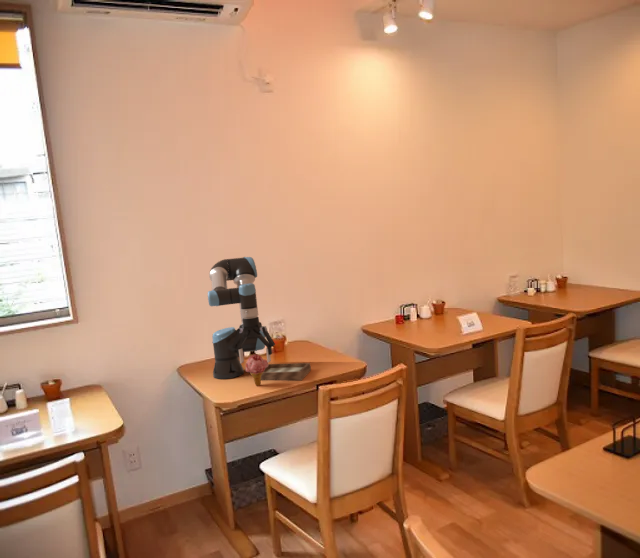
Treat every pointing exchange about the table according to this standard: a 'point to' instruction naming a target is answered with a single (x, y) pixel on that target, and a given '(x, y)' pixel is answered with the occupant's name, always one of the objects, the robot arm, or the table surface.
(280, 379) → the tray
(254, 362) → the ice cream
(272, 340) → the robot arm
